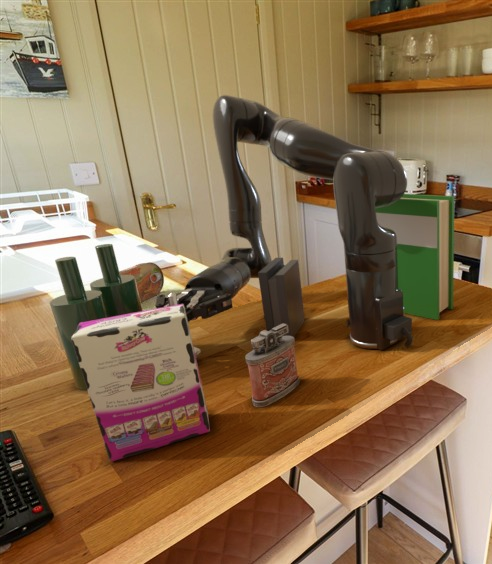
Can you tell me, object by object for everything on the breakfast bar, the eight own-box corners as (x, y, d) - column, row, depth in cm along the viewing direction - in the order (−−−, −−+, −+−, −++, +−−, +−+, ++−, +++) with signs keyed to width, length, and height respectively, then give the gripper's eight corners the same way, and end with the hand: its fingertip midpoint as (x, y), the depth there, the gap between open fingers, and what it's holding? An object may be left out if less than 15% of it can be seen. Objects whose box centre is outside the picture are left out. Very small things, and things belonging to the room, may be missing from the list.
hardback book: (453, 308, 92) (454, 196, 84) (437, 320, 86) (437, 201, 78) (385, 294, 101) (381, 192, 93) (367, 304, 95) (361, 197, 87)
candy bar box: (208, 412, 58) (185, 301, 53) (211, 433, 54) (186, 315, 49) (112, 439, 54) (77, 320, 48) (108, 464, 49) (68, 336, 44)
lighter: (263, 409, 59) (253, 345, 55) (247, 402, 60) (236, 339, 57) (304, 382, 65) (297, 322, 62) (289, 376, 67) (281, 318, 63)
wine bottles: (124, 346, 78) (97, 241, 72) (159, 346, 78) (135, 240, 72) (63, 390, 65) (22, 265, 58) (105, 390, 65) (69, 264, 58)
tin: (120, 312, 95) (111, 276, 92) (108, 311, 96) (99, 276, 93) (167, 290, 109) (161, 258, 106) (157, 289, 110) (150, 258, 107)
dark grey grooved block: (304, 319, 88) (297, 257, 84) (291, 341, 79) (283, 272, 74) (283, 320, 88) (275, 257, 84) (267, 341, 79) (257, 272, 74)
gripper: (176, 268, 81) (116, 301, 64) (248, 267, 80) (205, 300, 64) (184, 305, 83) (127, 345, 67) (253, 304, 83) (213, 345, 66)
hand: (166, 323), depth 65 cm, fingers closed
